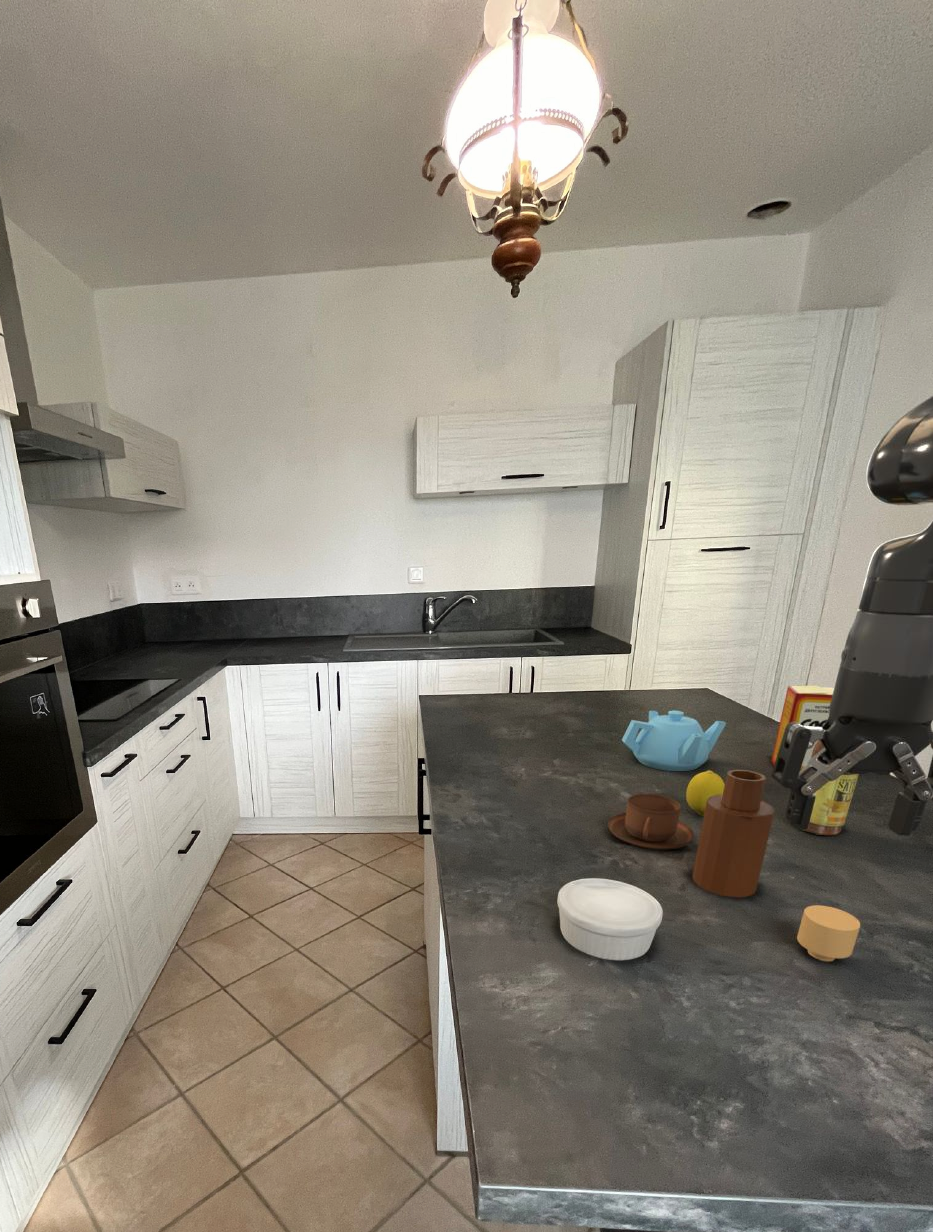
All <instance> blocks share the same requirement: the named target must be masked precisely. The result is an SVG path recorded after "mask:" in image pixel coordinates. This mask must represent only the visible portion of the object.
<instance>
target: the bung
mask: <svg viewBox="0 0 933 1232" xmlns="http://www.w3.org/2000/svg"><path fill="white" fill-rule="evenodd" d="M860 928H861V922H860V920H859V919H858V918H857V917H855V916H854V915H852V914H851V913H849V912H847V911H844V910H843V909H840V908H836V907H833V906H827V905H820V904H819V905H817V904H815V905H809V906H807V907H805V908H804V910H803V914H802V917H801V922H800V925H799V928H798V932H797V936H796V940H797V942H798V943H799V945H801V946H802V947H803V948H804V949H806V950H807V953H808V955H810V956H811V957H813V958H814V959H816V960H819V961H822V962H834V960H835V959H846V958H849V957H851V956H852V955H853V951H854V947H855V945H856V942H857V938H858V935H859V933H860Z"/></svg>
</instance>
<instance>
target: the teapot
mask: <svg viewBox="0 0 933 1232" xmlns="http://www.w3.org/2000/svg"><path fill="white" fill-rule="evenodd" d="M684 715H685V712H683V711H680V710H669V711H668V714H663V715H659V711H656V710H649V711H648V722H647V721H641V720H640V721H639V720H634V719H631V721H630V723H629V725H628V727H627V729H626V731H625V733H624V735H623V737H622V739H621V741H622V742H623V743H624V744H625V745H626V746H627V747H628V748H629V749H630V750H631V751H632V753H633V755H634V757H635V758H636V759H637V760H638V762H639V763H641V764H642V765H643V766H646V767H649V768H652V769H657V770H661V771H668V772H669V771H671V772H688V771H693V770H697V769H698V768H699V767H701V766H702V765H703V764H705V763H706V762H707V760H708V759H709V754H710V753H711V751H712V750H713V748H714V746H715V744H716V743H717V741H718V739H719V737H721V736H720V735H721V734H722V733H723V730H724V728H725V727H726V725H727V722H725V721H722V720H715V721H714V723H713V724H712V725H711V726H709V728H708V729H706V730H705V731H704V730H703V727H702V726H701V724H700V723H699V721H698V720H697V719H694V718H692V717H689V716H684ZM640 729H641V730H640ZM639 730H640V732H639Z"/></svg>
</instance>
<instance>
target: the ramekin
mask: <svg viewBox="0 0 933 1232" xmlns="http://www.w3.org/2000/svg"><path fill="white" fill-rule="evenodd" d="M556 900H557V907H558V911H559V927H560V932H561V934H562V936H563V938H564V939H565V941H566V942H567V943H568V944H569V945H571V946H572V947H574V948H575V949H576V950H578V951H580V952H582V953H584V954H587V955H590V956H592V957H596V958H598V959H603V960H610V961H629V960H634V959H637V958H639V957H642V956H643V955H645V954H646V953H647V952H648V951H649V949H650V947H651V945H652V942H653V940H654V937H655V936H656V935H655V934H656V933H657V929H658V928H659V926H660V925H661V924H662V920H663V916H664V915H663V914H664V913H663V911H664V910H663V907H662V905H661V904H660V902H659V900H657V899H656V898H655V897H654V896H652V894H650V893H649V892H646V891H645V890H643V889H641V888H639V887H637V886H636V885H635V886H634V885H632V884H629V883H626V882H623V881H619V880H614V879H607V878H597V877H596V878H594V877H593V878H590V877H589V878H581V879H576V880H573V881H570V882H568V883H565V884H564V885H563V886H562V887H561V888H560V889H559V890H558V894H557V899H556Z"/></svg>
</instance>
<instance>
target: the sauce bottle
mask: <svg viewBox="0 0 933 1232" xmlns="http://www.w3.org/2000/svg"><path fill="white" fill-rule="evenodd" d="M823 748H824V746H823V744H822V742H821V741H820V740H819V741H818V742H817V743H816V744H815V746H814V748H813V751H812V756H811V758H812V757H814V756H815V755H816V754H817V753H818V752H820V751H821V750H822V749H823ZM832 763H833V761H830V762H829V763H828V764H827V765H830V764H832ZM859 775H860V774H850V773H849V772H847V771H846V772H845V773H844V774H842V775H841V776H840V777H839V778H837V779H836V780H834V781H829V782H827V783H826V784H825V785H824V786H822V787H821V788H820V789H819V790H818V791H816V792H815V793H814V794H813V795H815V796H816V799H815V803H814V806H813V810H812V814H811V818H810V822H809V826H808V829H807V830H802V831H803V832H806V833H809V834H813V835H817V836H837V835H839V834H840V833H841V831H842V828H843V826H844V825H845V824H846V820H847V816H848V812H849V809H850V806H851V801H852V799H853V796H854V793H855V789H856V785H857V782H858V778H859Z"/></svg>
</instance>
